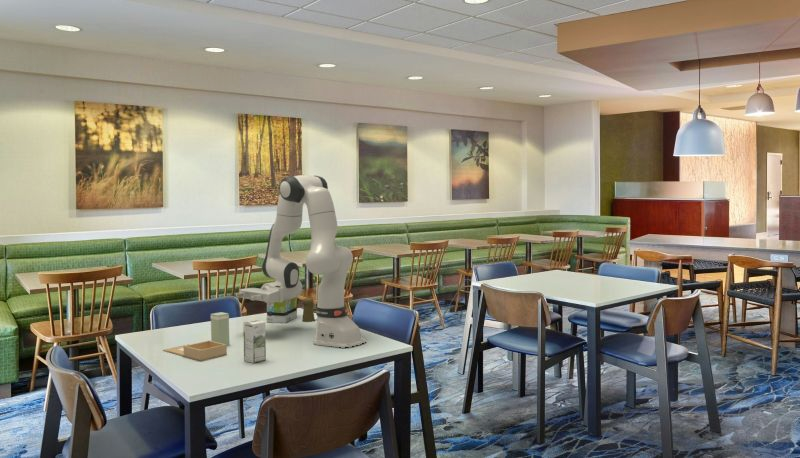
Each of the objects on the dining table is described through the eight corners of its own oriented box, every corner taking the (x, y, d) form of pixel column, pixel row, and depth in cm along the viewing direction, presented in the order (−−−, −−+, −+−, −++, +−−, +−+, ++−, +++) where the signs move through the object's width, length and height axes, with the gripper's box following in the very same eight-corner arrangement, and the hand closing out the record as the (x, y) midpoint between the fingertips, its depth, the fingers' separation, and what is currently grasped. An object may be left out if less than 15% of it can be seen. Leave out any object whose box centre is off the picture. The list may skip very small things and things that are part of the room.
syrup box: (256, 357, 230) (255, 319, 229) (266, 360, 226) (265, 321, 225) (243, 361, 226) (242, 321, 225) (253, 363, 222) (252, 323, 221)
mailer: (226, 354, 234) (226, 344, 234) (200, 361, 226) (200, 350, 226) (188, 345, 251) (188, 335, 251) (163, 350, 242) (162, 340, 242)
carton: (229, 345, 250) (228, 313, 249) (218, 347, 246) (218, 315, 245) (222, 343, 253) (221, 312, 252) (211, 345, 249) (210, 314, 248)
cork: (302, 322, 293) (302, 299, 293) (301, 320, 299) (300, 297, 299) (315, 321, 295) (315, 298, 294) (313, 319, 301) (313, 296, 300)
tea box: (286, 323, 292) (285, 292, 291) (266, 322, 294) (265, 292, 293) (297, 317, 306) (297, 287, 306) (278, 316, 308) (278, 287, 308)
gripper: (254, 283, 275) (228, 287, 264) (285, 287, 262) (259, 292, 251) (255, 297, 275) (229, 302, 264) (285, 302, 262) (259, 307, 252)
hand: (243, 297), depth 258 cm, fingers open, 8 cm apart
